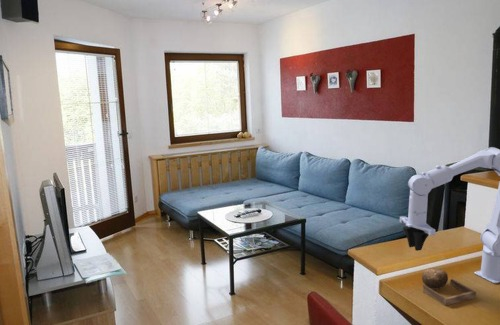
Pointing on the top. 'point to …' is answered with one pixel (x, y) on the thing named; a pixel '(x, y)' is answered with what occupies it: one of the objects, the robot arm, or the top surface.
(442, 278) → the mushroom
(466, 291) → the walnut frame
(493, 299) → the top surface
